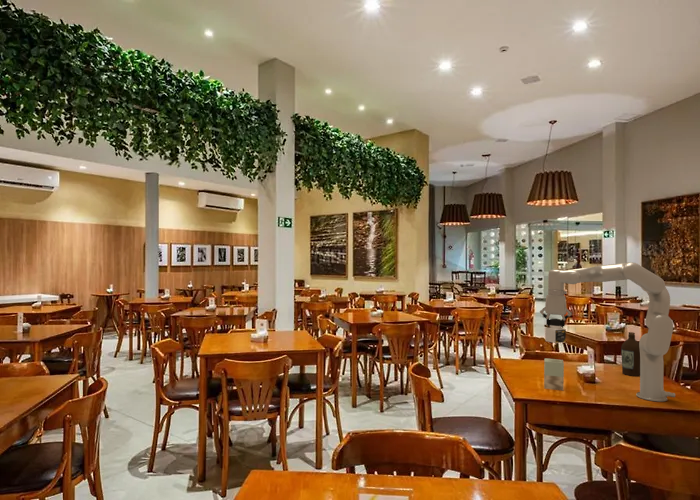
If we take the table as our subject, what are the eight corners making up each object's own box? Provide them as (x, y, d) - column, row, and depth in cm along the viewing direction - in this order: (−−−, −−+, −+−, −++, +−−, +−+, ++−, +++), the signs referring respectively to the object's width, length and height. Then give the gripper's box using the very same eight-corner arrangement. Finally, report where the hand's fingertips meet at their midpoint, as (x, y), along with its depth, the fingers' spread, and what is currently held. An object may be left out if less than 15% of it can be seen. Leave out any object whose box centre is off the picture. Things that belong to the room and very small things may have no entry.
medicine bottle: (555, 343, 233) (555, 320, 233) (544, 340, 240) (545, 318, 240) (565, 342, 236) (566, 319, 236) (554, 340, 242) (555, 318, 243)
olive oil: (628, 371, 276) (628, 330, 276) (646, 375, 266) (646, 333, 267) (617, 373, 271) (617, 331, 272) (634, 377, 261) (635, 334, 262)
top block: (562, 373, 240) (562, 360, 240) (563, 377, 232) (563, 363, 232) (544, 371, 243) (544, 358, 244) (544, 375, 235) (544, 361, 235)
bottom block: (562, 386, 240) (562, 373, 240) (563, 390, 232) (563, 377, 232) (544, 384, 243) (544, 371, 243) (544, 388, 235) (544, 375, 235)
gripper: (573, 293, 238) (573, 327, 238) (538, 291, 245) (537, 325, 245) (574, 294, 231) (574, 329, 231) (538, 292, 238) (537, 326, 238)
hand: (555, 326), depth 238 cm, fingers closed on medicine bottle, 6 cm apart
